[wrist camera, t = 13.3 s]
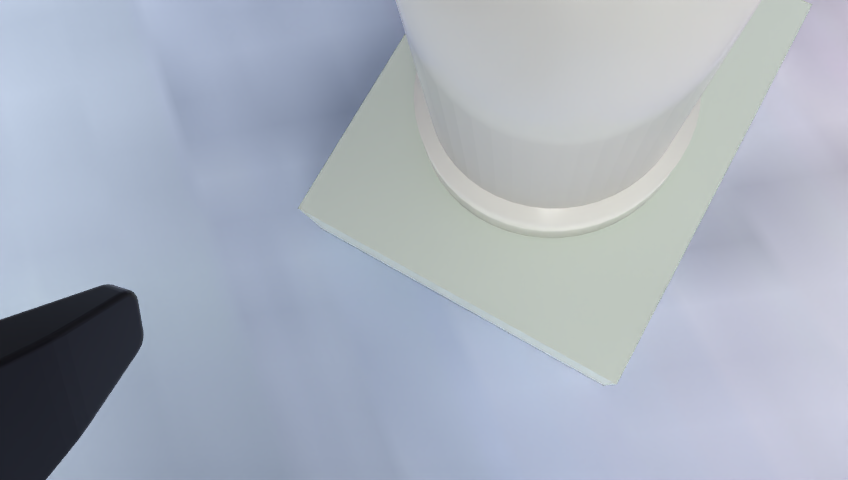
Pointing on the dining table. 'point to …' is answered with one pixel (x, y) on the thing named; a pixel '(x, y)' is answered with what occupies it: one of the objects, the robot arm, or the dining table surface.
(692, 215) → the sage block
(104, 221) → the dining table surface
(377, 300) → the dining table surface
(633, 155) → the cream jar
